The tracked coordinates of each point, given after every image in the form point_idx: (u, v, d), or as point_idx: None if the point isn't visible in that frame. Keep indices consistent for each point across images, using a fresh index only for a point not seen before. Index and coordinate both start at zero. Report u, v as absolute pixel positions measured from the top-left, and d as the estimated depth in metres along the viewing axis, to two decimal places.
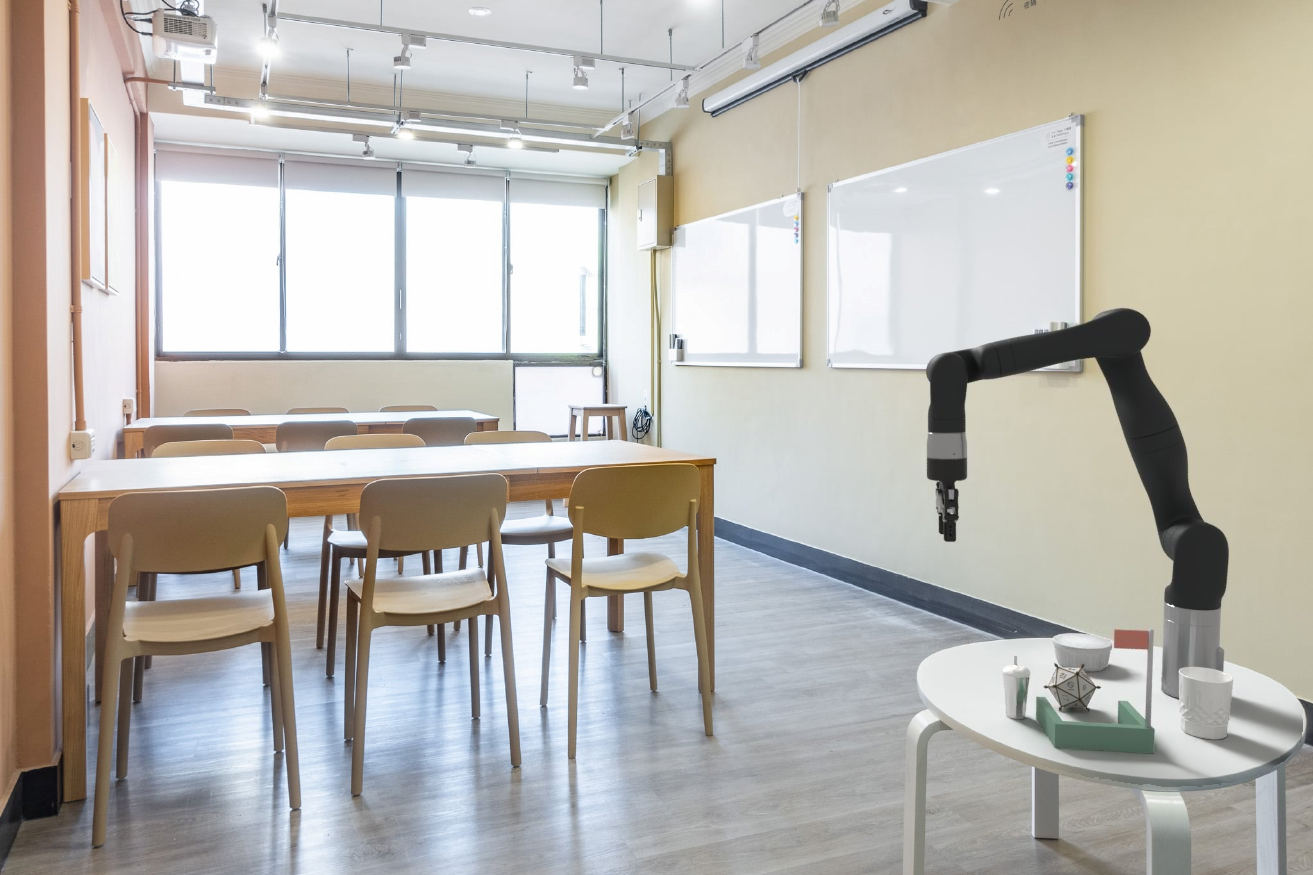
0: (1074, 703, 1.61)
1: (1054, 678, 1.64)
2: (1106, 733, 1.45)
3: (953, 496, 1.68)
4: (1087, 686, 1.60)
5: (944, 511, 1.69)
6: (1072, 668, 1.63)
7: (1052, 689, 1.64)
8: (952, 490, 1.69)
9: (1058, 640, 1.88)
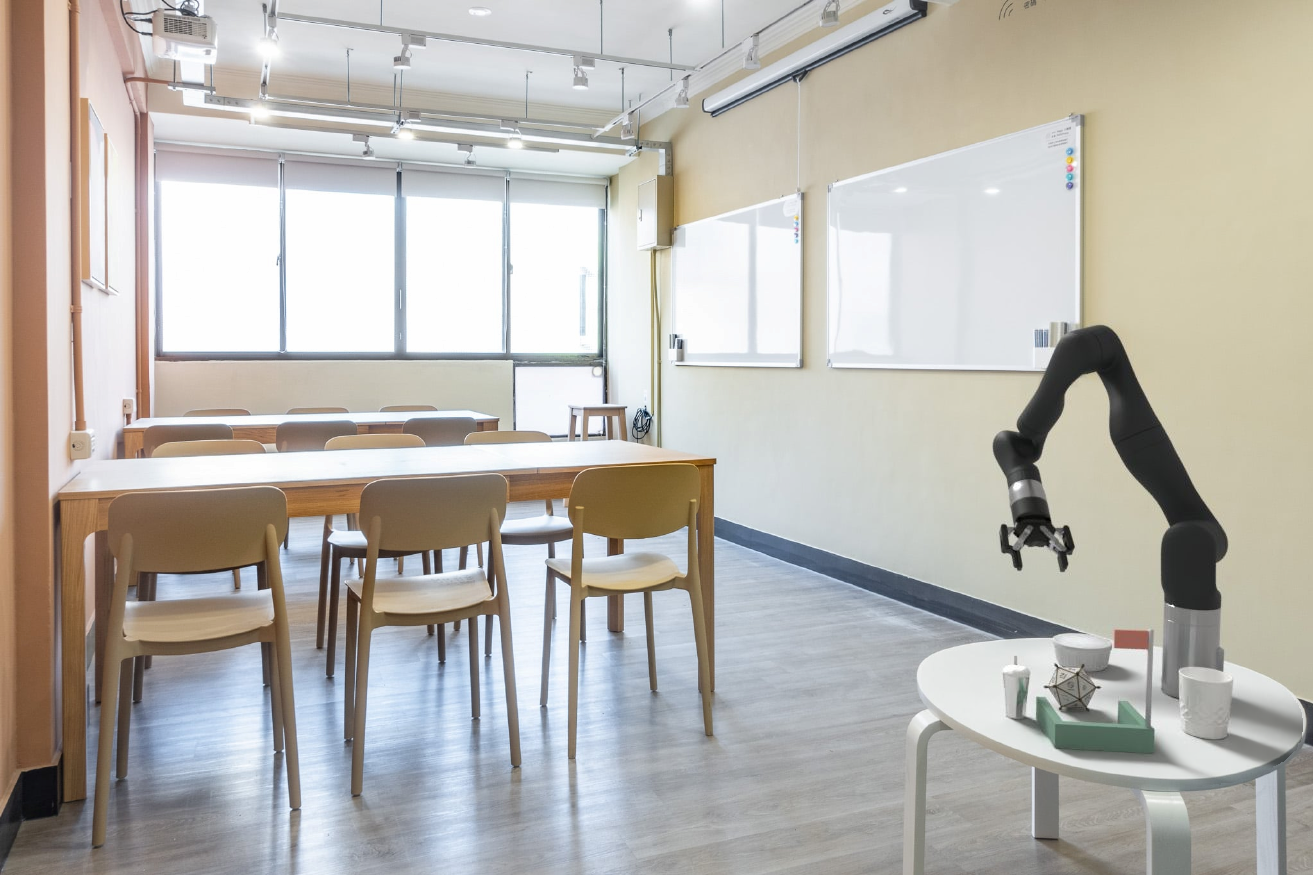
0: (1074, 703, 1.61)
1: (1054, 678, 1.64)
2: (1106, 733, 1.45)
3: (1000, 531, 1.90)
4: (1087, 686, 1.60)
5: None
6: (1072, 668, 1.63)
7: (1052, 689, 1.64)
8: None
9: (1058, 640, 1.88)
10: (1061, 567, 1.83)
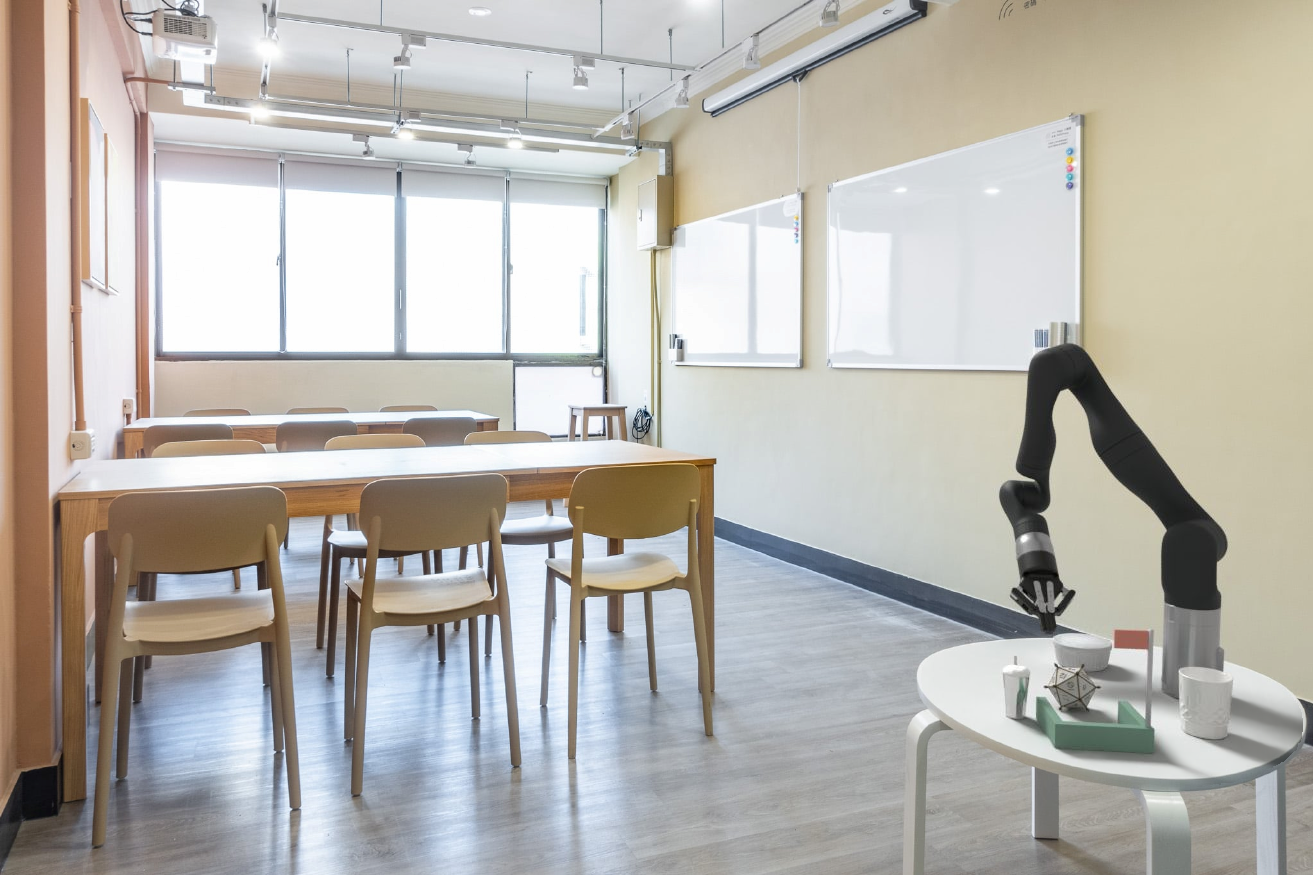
0: (1074, 703, 1.61)
1: (1054, 678, 1.64)
2: (1106, 733, 1.45)
3: (1015, 596, 1.84)
4: (1087, 686, 1.60)
5: None
6: (1072, 668, 1.63)
7: (1052, 689, 1.64)
8: (1011, 592, 1.85)
9: (1058, 640, 1.88)
10: None
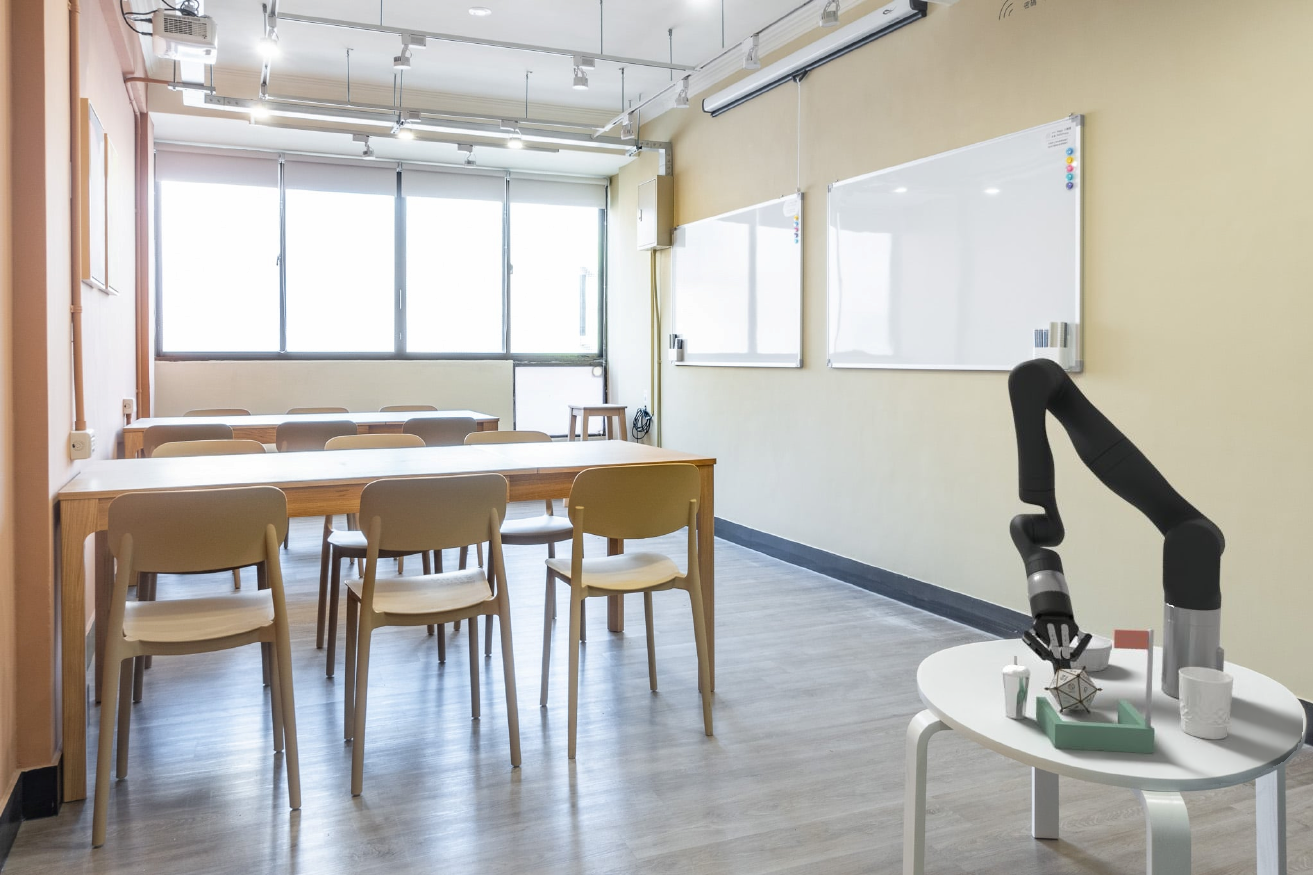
0: (1075, 705, 1.59)
1: (1054, 680, 1.62)
2: (1106, 733, 1.45)
3: (1027, 640, 1.73)
4: (1088, 688, 1.59)
5: None
6: (1073, 670, 1.62)
7: (1053, 691, 1.62)
8: (1023, 635, 1.74)
9: None
10: None
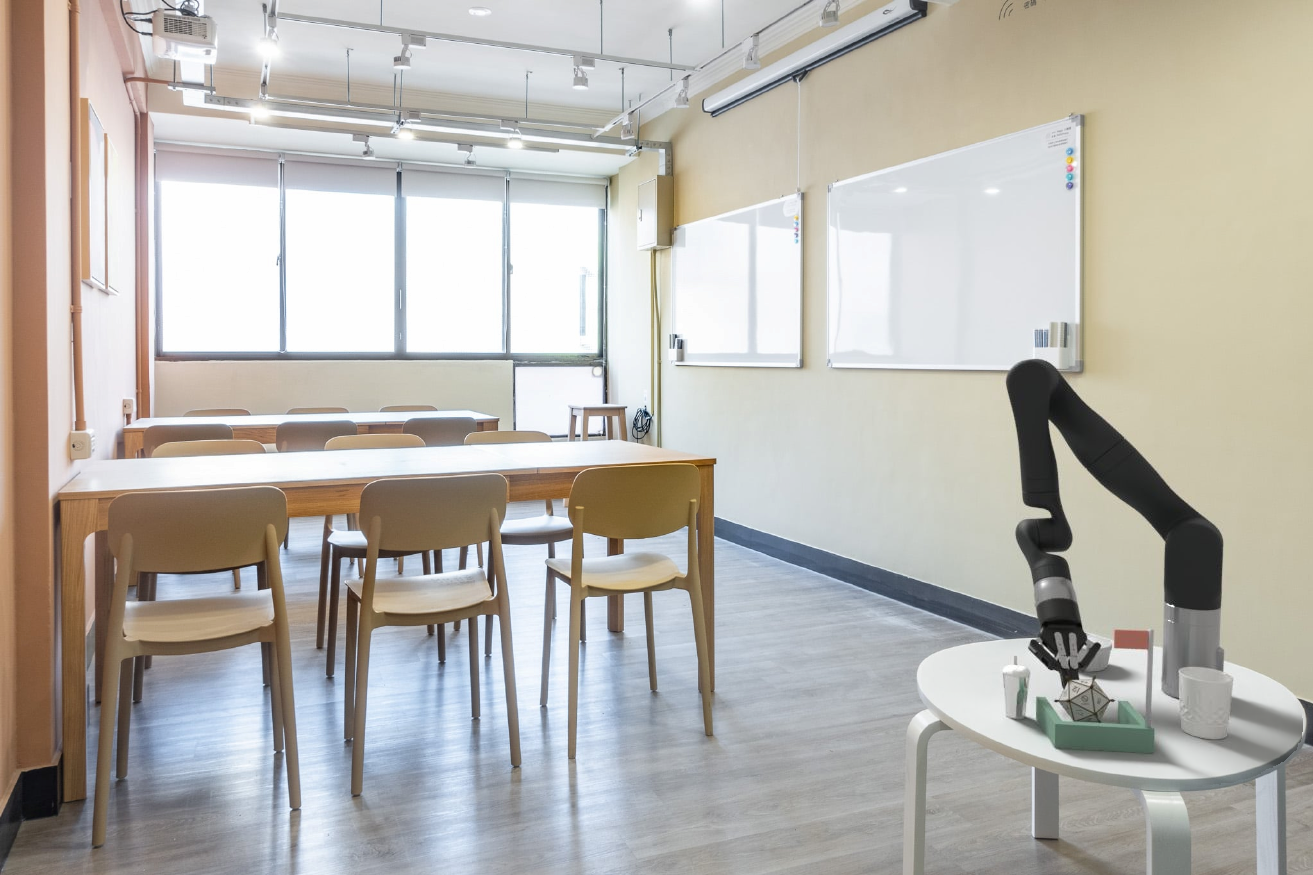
0: (1088, 718, 1.54)
1: (1065, 692, 1.56)
2: (1106, 733, 1.45)
3: (1033, 649, 1.67)
4: (1101, 700, 1.53)
5: None
6: (1084, 681, 1.56)
7: (1064, 703, 1.56)
8: (1029, 644, 1.68)
9: None
10: None
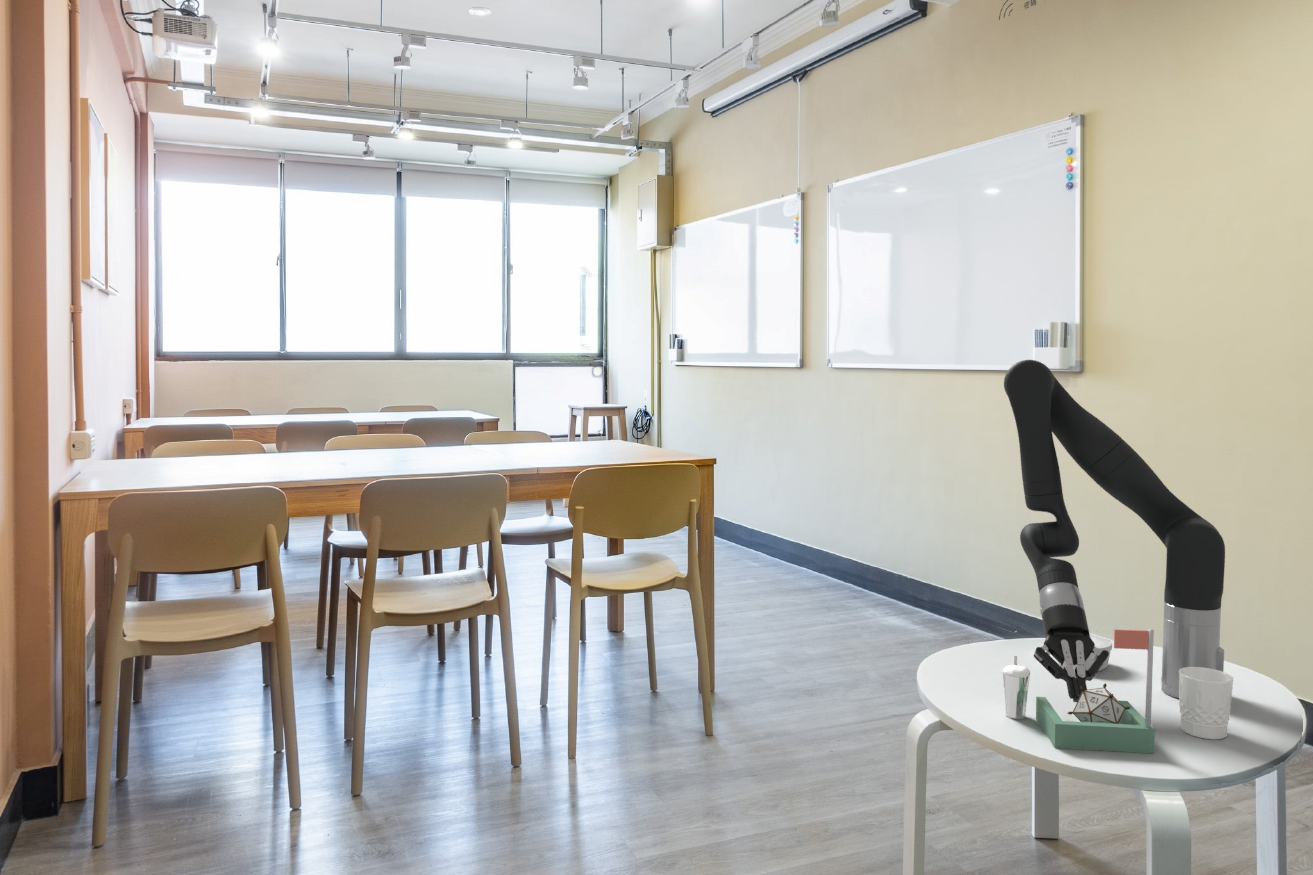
0: None
1: (1082, 703, 1.51)
2: (1106, 733, 1.45)
3: (1039, 657, 1.63)
4: (1119, 709, 1.50)
5: None
6: (1098, 690, 1.52)
7: (1081, 715, 1.51)
8: (1035, 652, 1.63)
9: None
10: None
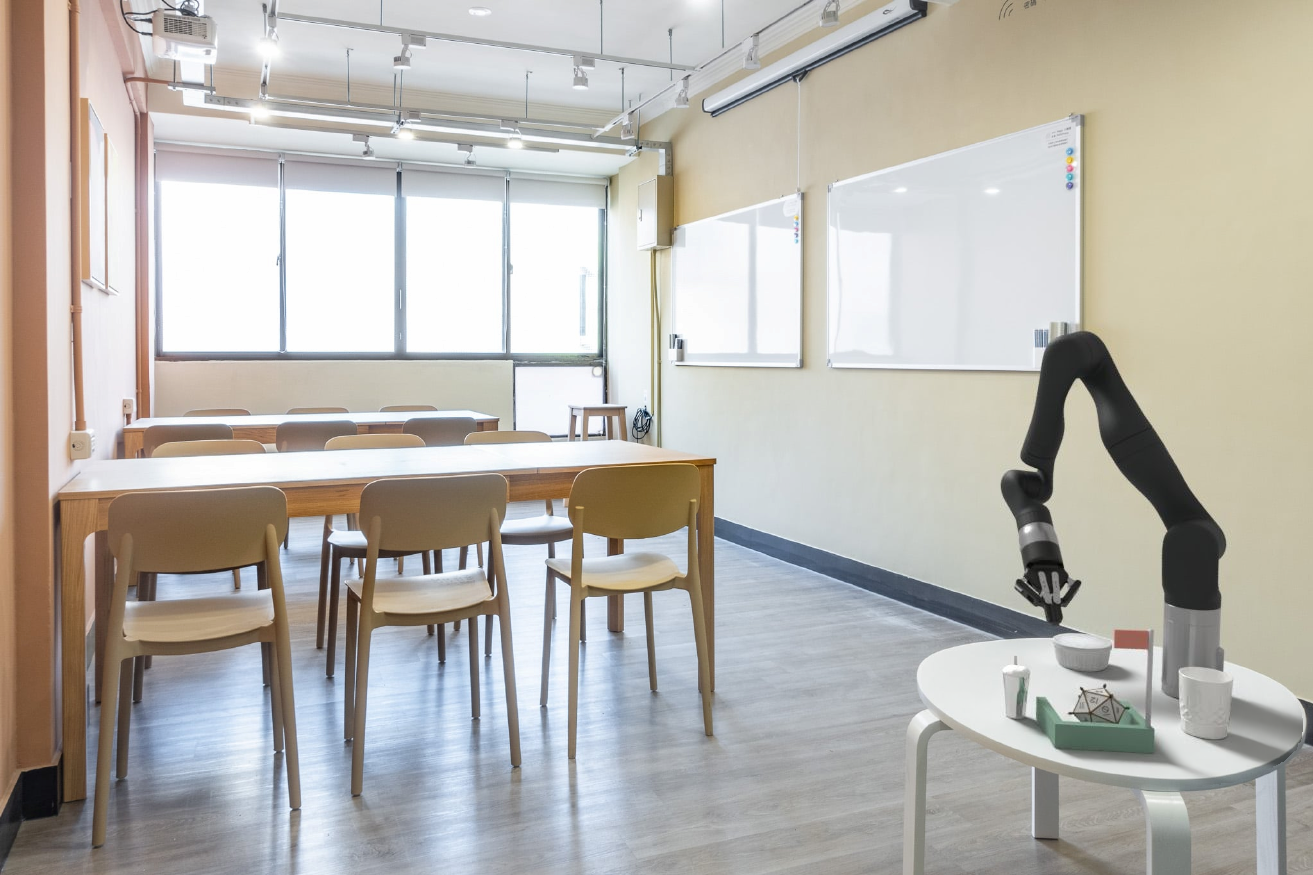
0: None
1: (1082, 703, 1.51)
2: (1106, 733, 1.45)
3: (1019, 587, 1.80)
4: (1119, 709, 1.50)
5: None
6: (1098, 690, 1.52)
7: (1081, 715, 1.51)
8: (1015, 584, 1.81)
9: (1058, 640, 1.88)
10: None
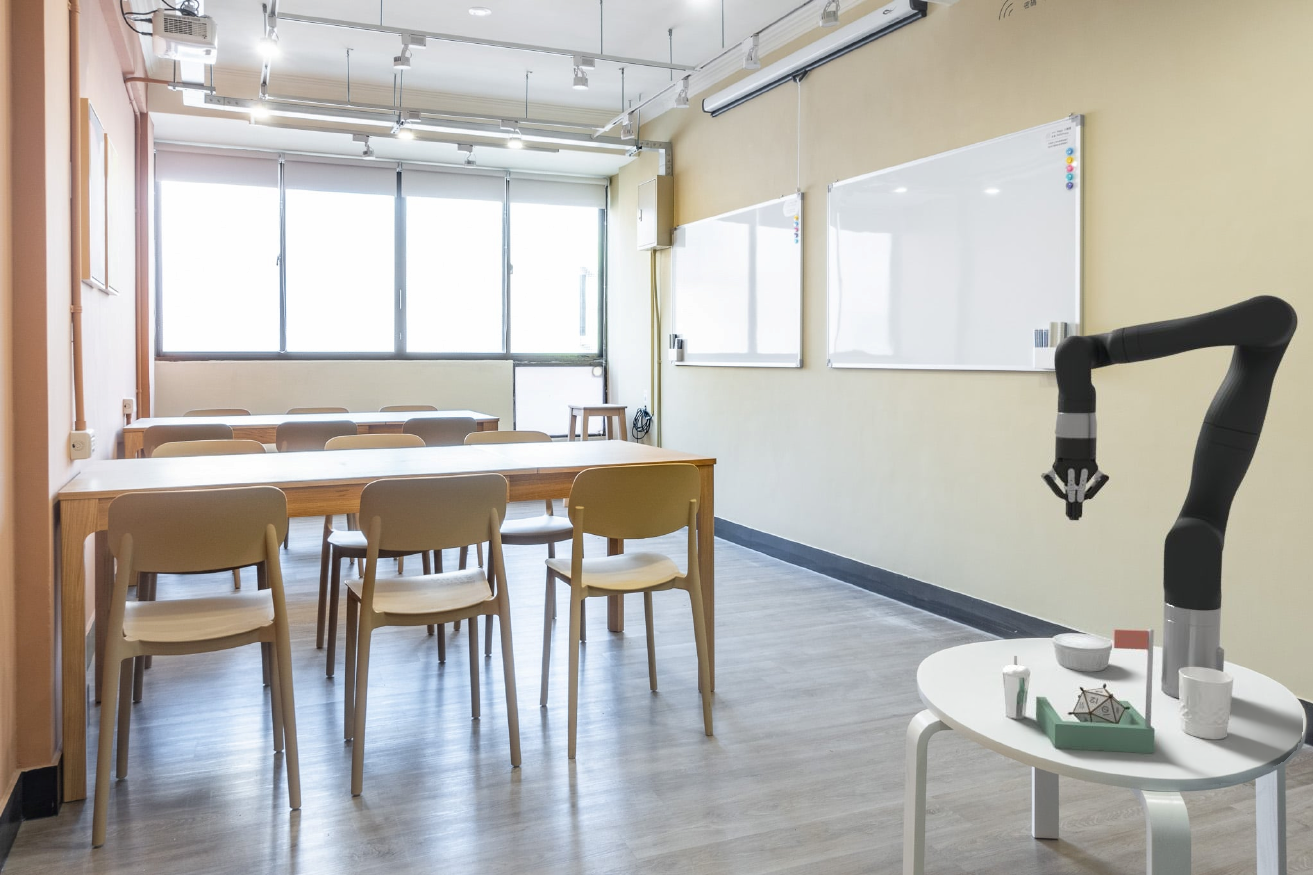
0: None
1: (1082, 703, 1.51)
2: (1106, 733, 1.45)
3: (1046, 481, 1.83)
4: (1119, 709, 1.50)
5: None
6: (1097, 690, 1.52)
7: (1081, 715, 1.51)
8: (1043, 477, 1.83)
9: (1058, 640, 1.88)
10: None
